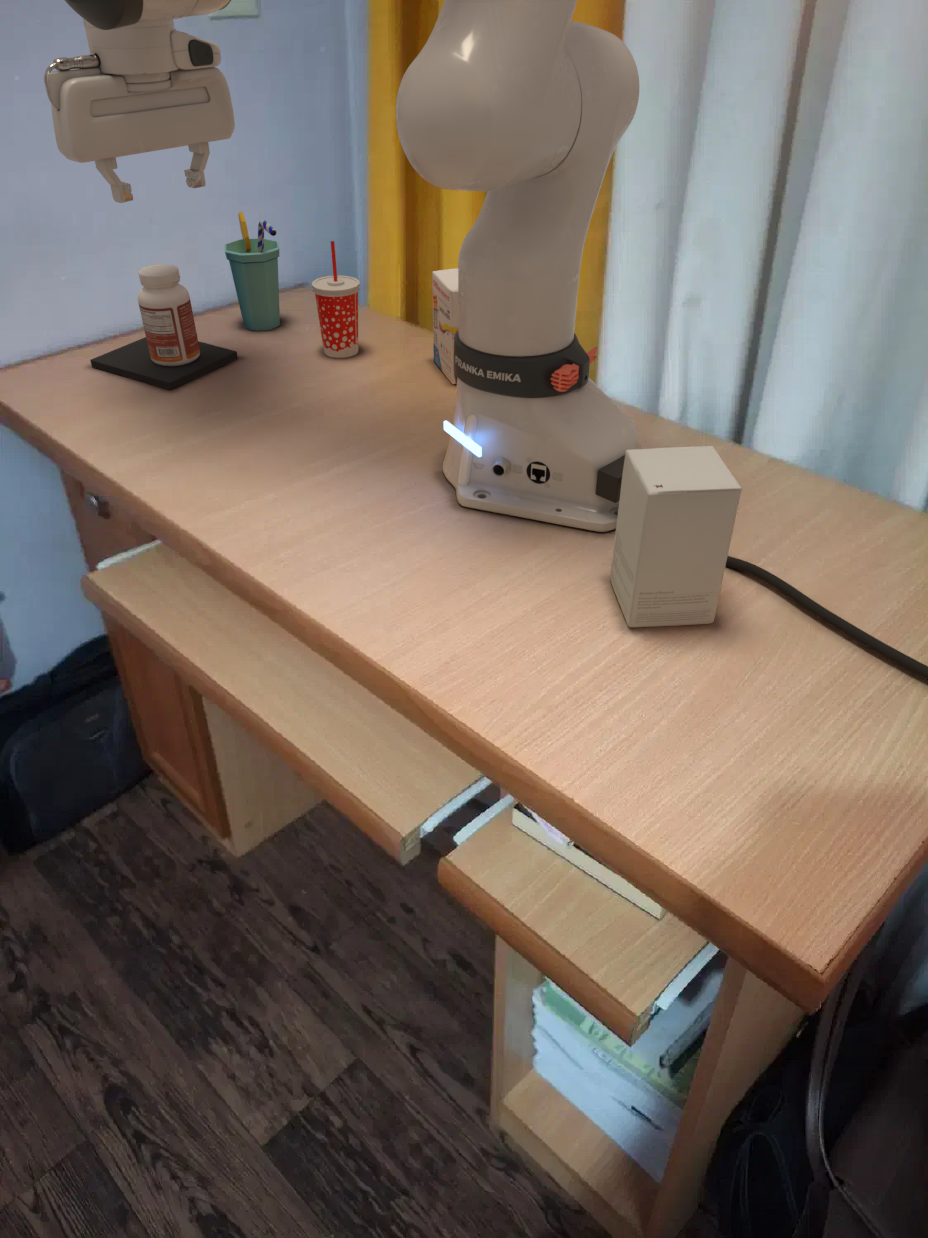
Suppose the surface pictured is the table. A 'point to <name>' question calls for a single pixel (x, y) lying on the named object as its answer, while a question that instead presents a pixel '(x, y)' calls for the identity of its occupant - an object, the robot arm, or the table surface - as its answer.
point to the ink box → (445, 319)
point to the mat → (140, 366)
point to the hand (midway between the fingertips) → (161, 193)
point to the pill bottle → (167, 316)
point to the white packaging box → (673, 535)
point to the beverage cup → (338, 312)
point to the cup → (256, 276)
